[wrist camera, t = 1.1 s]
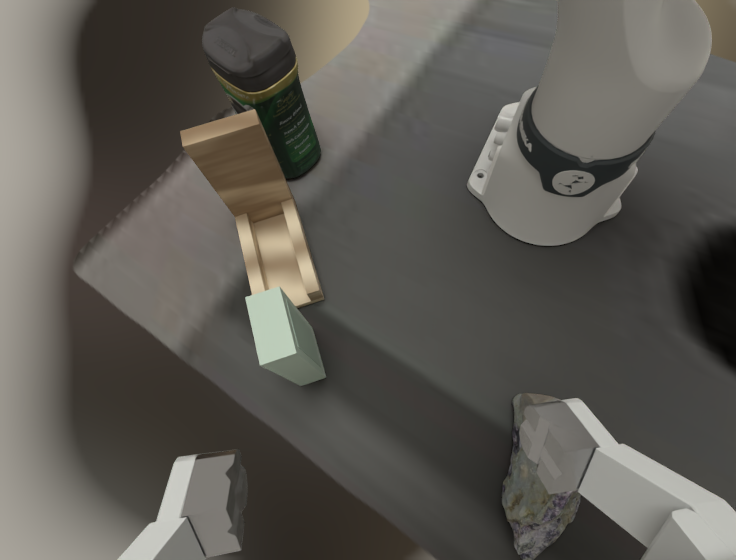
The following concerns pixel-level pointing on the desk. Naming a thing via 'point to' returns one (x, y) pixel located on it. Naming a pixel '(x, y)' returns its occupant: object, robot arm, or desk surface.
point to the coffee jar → (264, 83)
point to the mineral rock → (533, 494)
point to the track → (257, 204)
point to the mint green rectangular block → (284, 337)
